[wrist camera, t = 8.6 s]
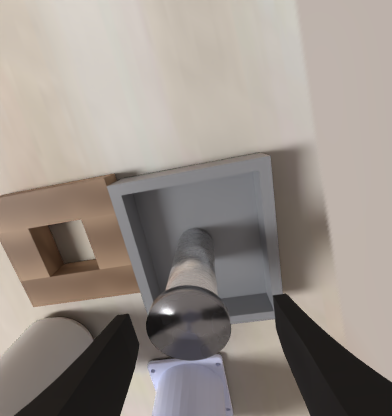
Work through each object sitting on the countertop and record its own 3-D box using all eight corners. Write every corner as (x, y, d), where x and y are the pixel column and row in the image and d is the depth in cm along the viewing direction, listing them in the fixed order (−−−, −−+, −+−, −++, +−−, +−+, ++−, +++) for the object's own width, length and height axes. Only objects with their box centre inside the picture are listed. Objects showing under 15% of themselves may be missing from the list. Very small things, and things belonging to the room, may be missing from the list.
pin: (223, 261, 19) (236, 355, 11) (178, 268, 19) (158, 364, 11) (215, 218, 18) (223, 287, 10) (167, 226, 18) (135, 300, 10)
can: (101, 316, 22) (-7, 503, 11) (100, 369, 25) (11, 568, 13) (27, 305, 22) (-158, 481, 11) (33, 359, 25) (-113, 551, 13)
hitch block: (146, 278, 21) (140, 292, 19) (48, 292, 22) (33, 307, 20) (114, 173, 18) (103, 177, 16) (2, 194, 19) (-20, 201, 17)
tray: (273, 292, 21) (284, 317, 18) (160, 307, 22) (153, 333, 19) (259, 152, 17) (270, 155, 14) (122, 178, 18) (106, 186, 15)
